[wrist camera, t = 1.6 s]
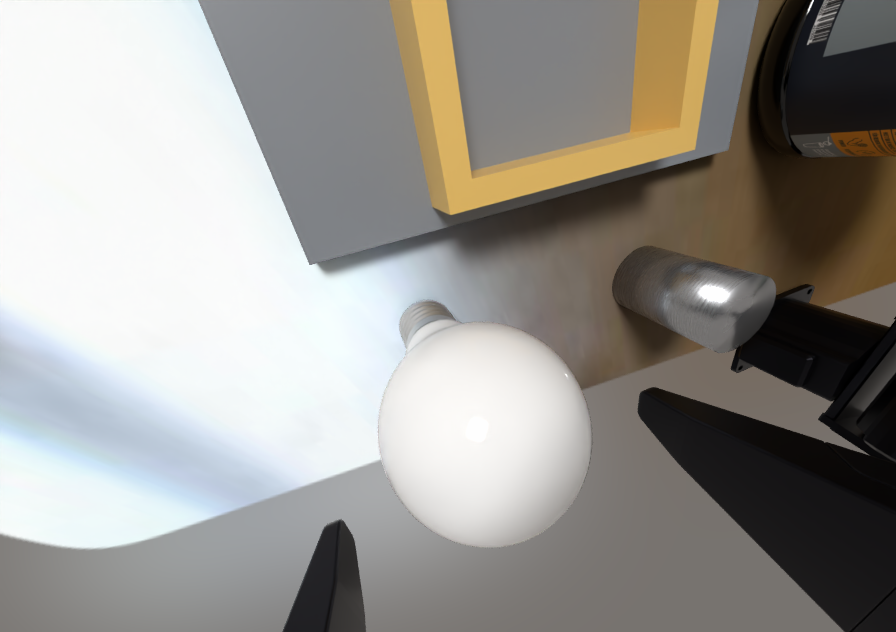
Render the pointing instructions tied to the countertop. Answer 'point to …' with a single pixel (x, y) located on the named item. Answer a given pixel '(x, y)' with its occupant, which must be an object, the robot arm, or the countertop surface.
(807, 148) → the supplement container
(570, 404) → the lightbulb
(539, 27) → the board
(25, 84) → the countertop surface
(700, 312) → the silver metal cylinder
